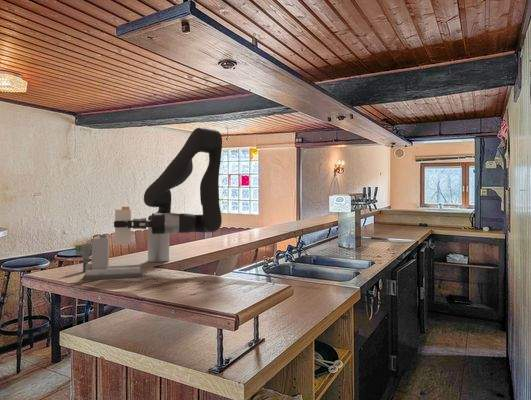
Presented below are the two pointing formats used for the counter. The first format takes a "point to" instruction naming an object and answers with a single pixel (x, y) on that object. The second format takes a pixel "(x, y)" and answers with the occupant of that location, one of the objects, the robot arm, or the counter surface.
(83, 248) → the mechanical component
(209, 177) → the robot arm
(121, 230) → the cream module
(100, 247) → the grey l-shaped block
